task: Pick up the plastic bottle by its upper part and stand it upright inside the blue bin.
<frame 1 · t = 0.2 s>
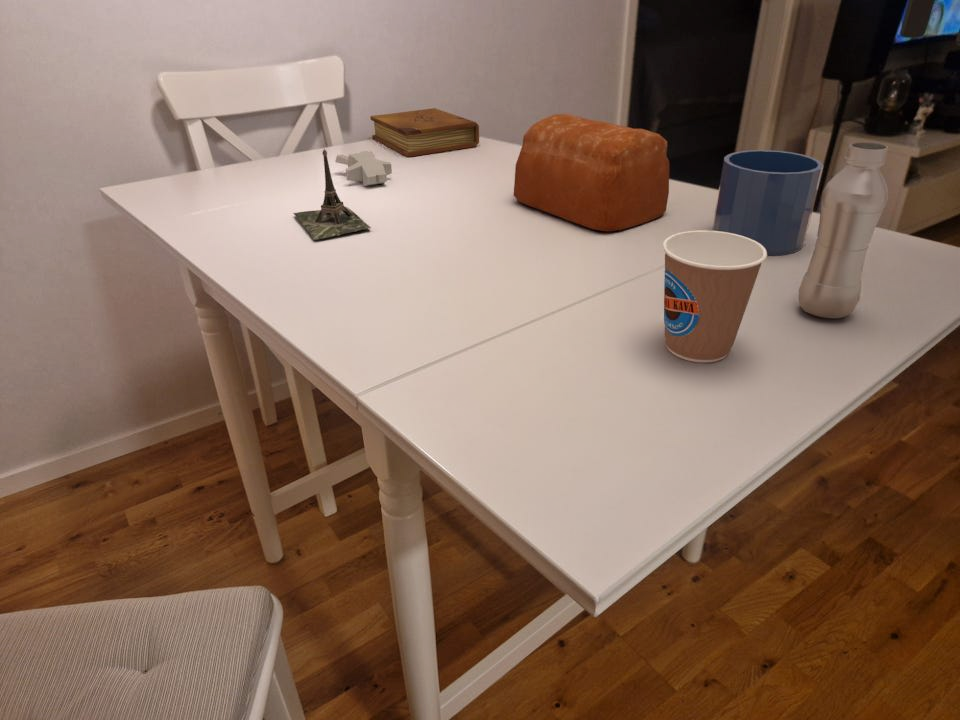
hand: (938, 41, 63), 30 cm above the table, tool pointing down, fingers open, 8 cm apart
eiffel tower figurine: (331, 224, 113), on the table
blue bin: (756, 239, 102), on the table
coffee cup: (696, 348, 74), on the table
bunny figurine: (365, 180, 136), on the table
diary: (424, 143, 163), on the table
plastic bottle: (822, 314, 81), on the table
bread: (588, 209, 117), on the table
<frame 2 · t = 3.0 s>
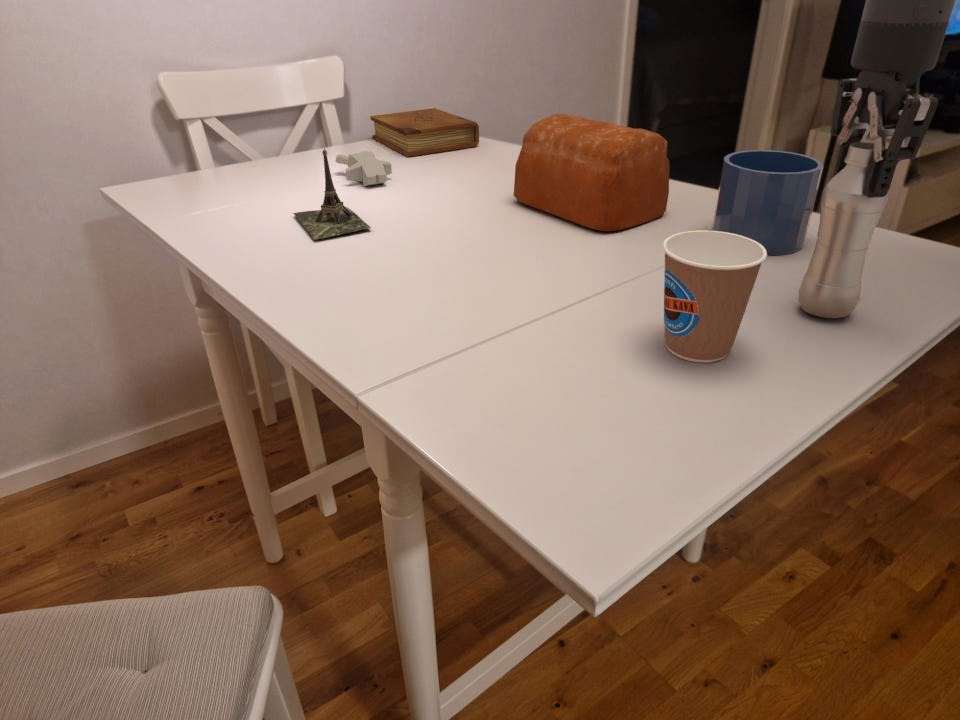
hand: (857, 187, 73), 16 cm above the table, tool pointing down, fingers closed on plastic bottle, 6 cm apart
plastic bottle: (822, 314, 81), on the table, touching gripper
everything else where it was.
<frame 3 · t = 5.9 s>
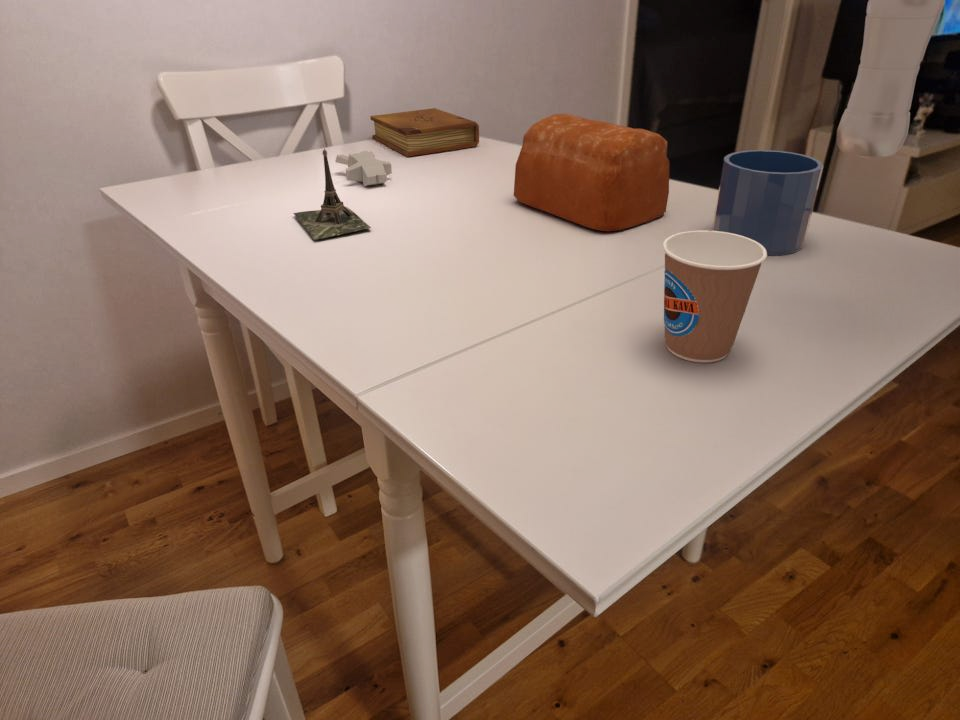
plastic bottle: (864, 158, 71), point 19 cm above the table, touching gripper
everything else where it was.
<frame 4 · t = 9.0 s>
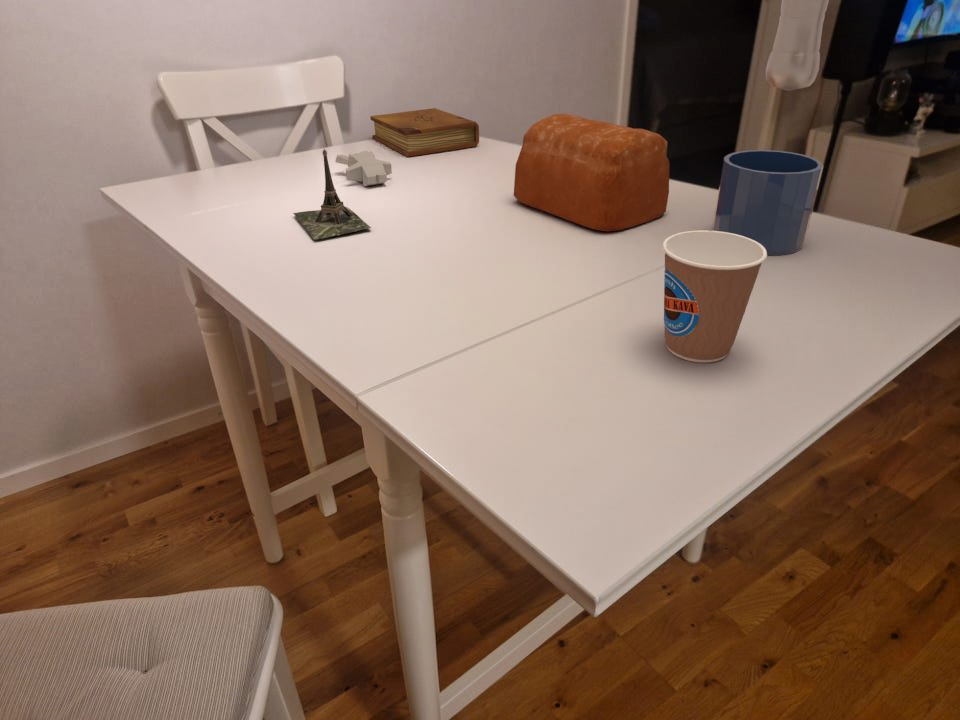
plastic bottle: (787, 91, 91), point 22 cm above the table, touching gripper
everything else where it was.
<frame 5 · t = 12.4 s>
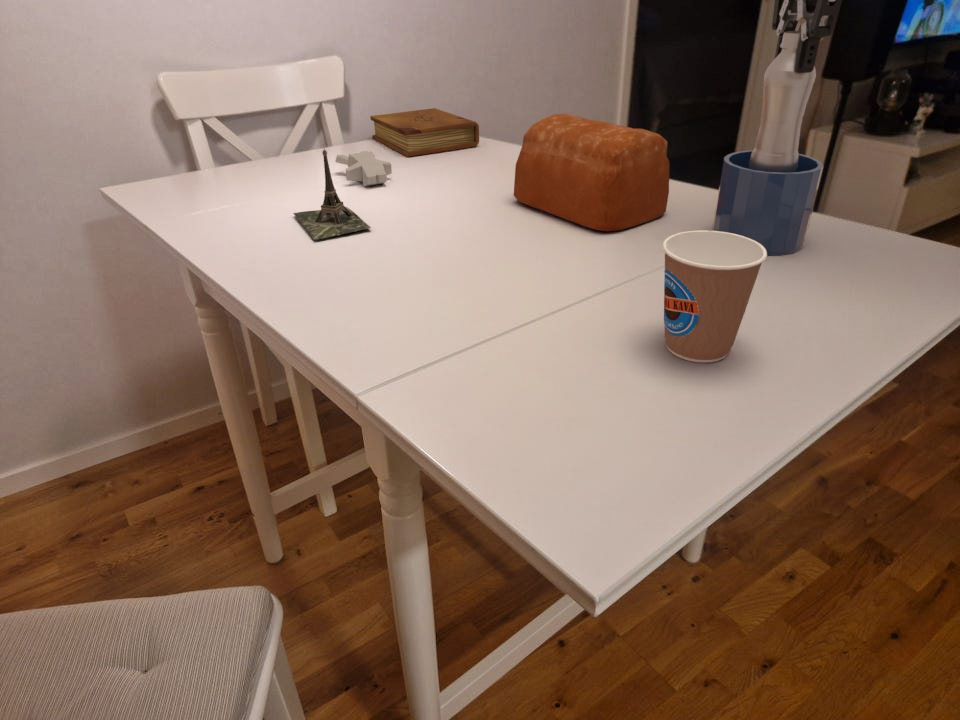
hand: (792, 68, 89), 24 cm above the table, tool pointing down, fingers closed on plastic bottle, 6 cm apart
plastic bottle: (768, 183, 97), point 9 cm above the table, touching gripper
everything else where it was.
when the fingers open (16 cm above the table, at t = 15.2 s): plastic bottle stays where it is, resting on blue bin.
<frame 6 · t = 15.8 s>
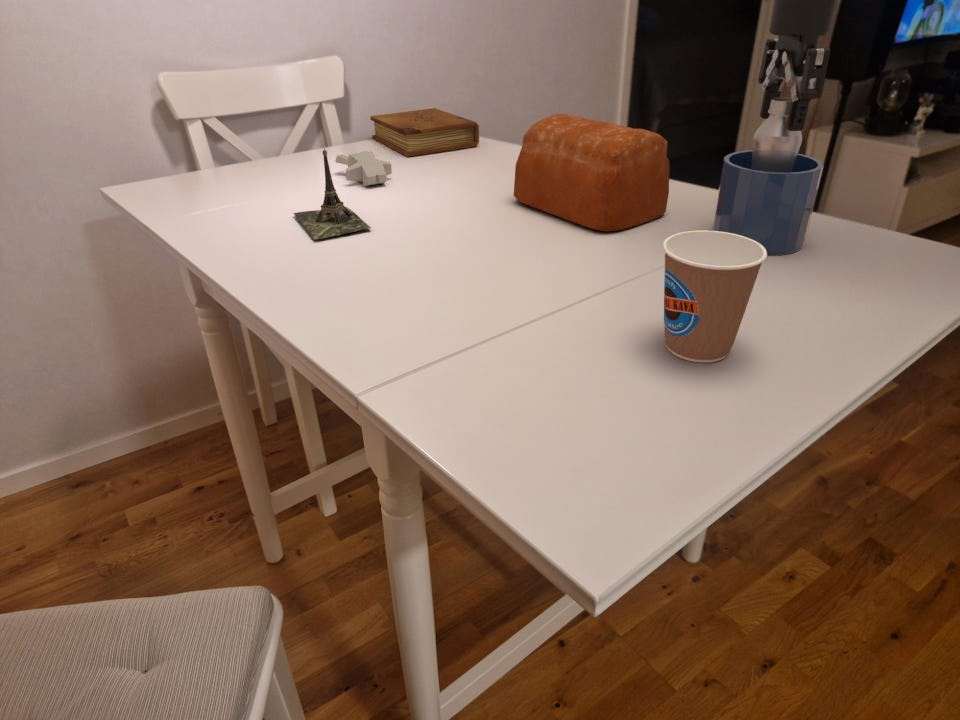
hand: (780, 124, 93), 17 cm above the table, tool pointing down, fingers open, 8 cm apart
plastic bottle: (757, 237, 102), resting on blue bin
everything else where it was.
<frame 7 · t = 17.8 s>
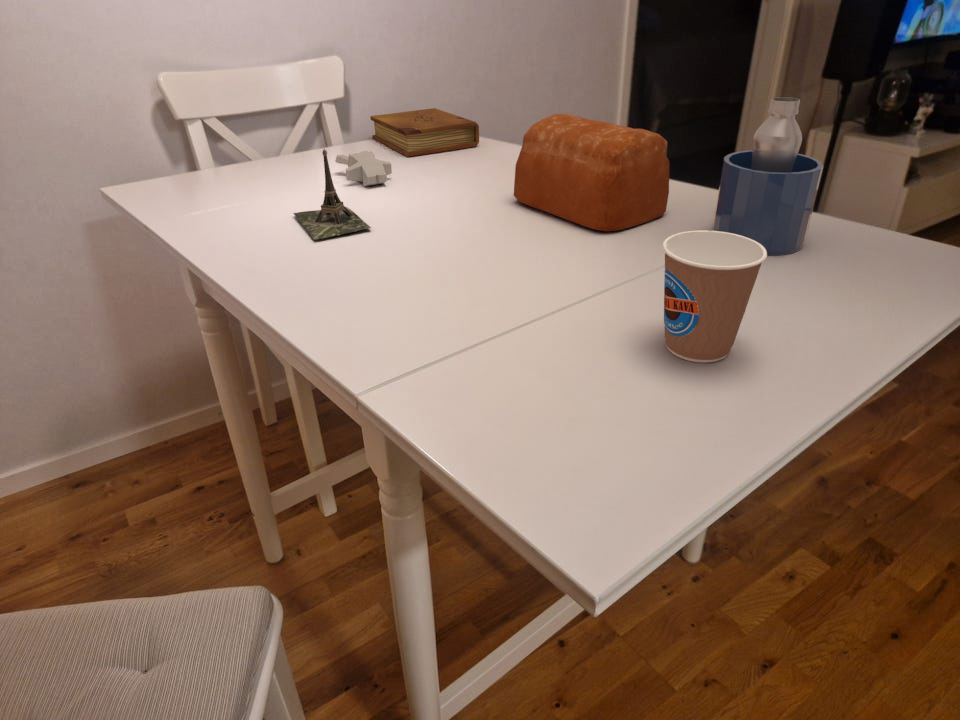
nothing on the table moved.
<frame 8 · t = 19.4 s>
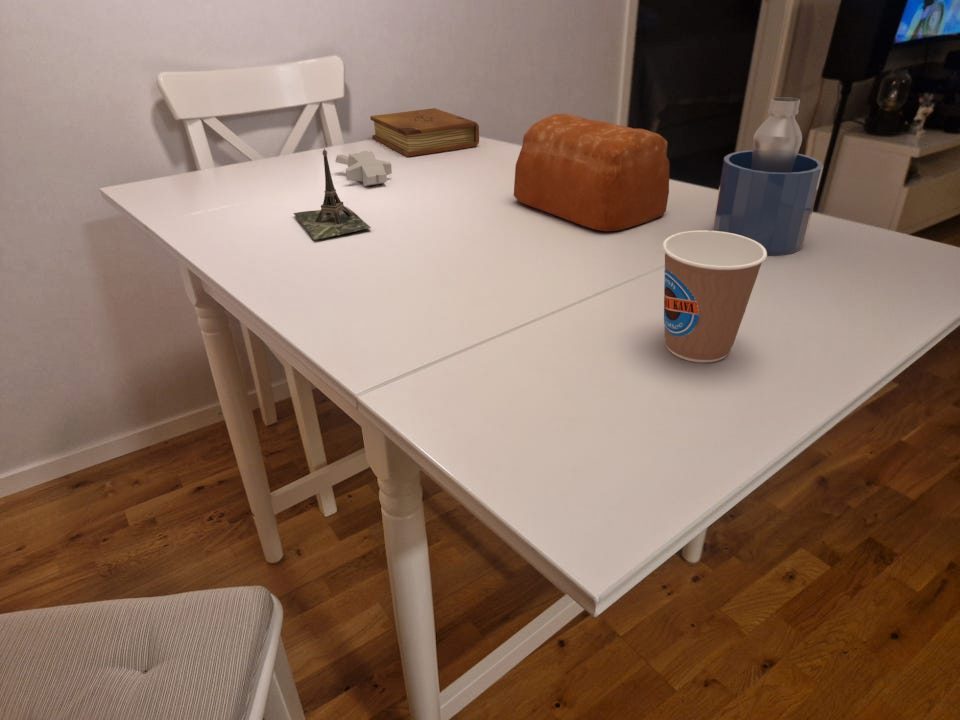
nothing on the table moved.
at the end: plastic bottle inside the target area in the blue bin (0.1 cm from its centre), point 0.3 cm above the blue bin's base; plastic bottle tilted 0° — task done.
